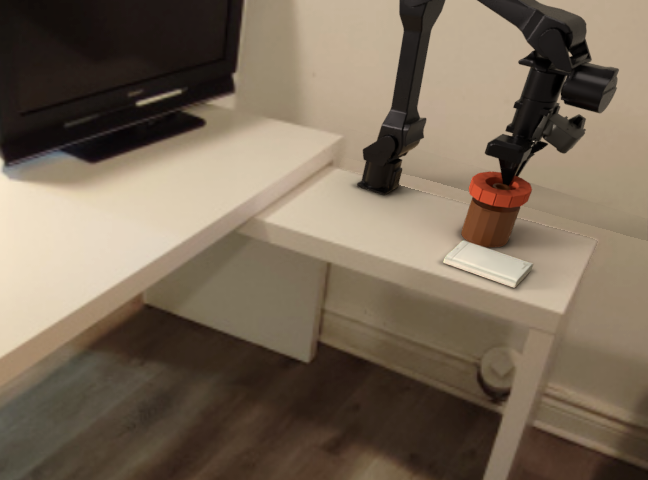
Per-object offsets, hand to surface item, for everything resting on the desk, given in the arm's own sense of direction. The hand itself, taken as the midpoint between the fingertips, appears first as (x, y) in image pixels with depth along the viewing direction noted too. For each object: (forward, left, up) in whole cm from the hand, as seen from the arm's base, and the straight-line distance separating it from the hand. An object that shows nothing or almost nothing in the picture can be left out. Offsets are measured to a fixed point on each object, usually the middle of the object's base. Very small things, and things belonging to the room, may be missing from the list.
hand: (508, 183), depth 143 cm
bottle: (0, -4, -9) cm, 10 cm away
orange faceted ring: (0, -4, -1) cm, 4 cm away
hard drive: (+5, -14, -10) cm, 18 cm away
